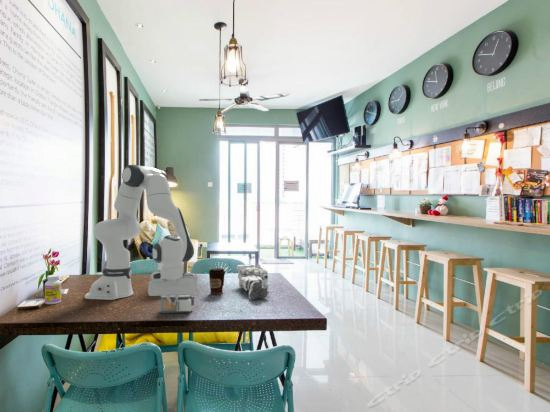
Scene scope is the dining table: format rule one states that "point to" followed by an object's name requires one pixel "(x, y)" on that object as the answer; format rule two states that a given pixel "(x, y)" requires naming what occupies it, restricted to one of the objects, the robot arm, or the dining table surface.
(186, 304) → the side door
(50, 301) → the supplement bottle
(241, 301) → the dining table surface
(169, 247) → the robot arm
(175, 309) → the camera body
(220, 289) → the coffee cup
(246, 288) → the spaceship
